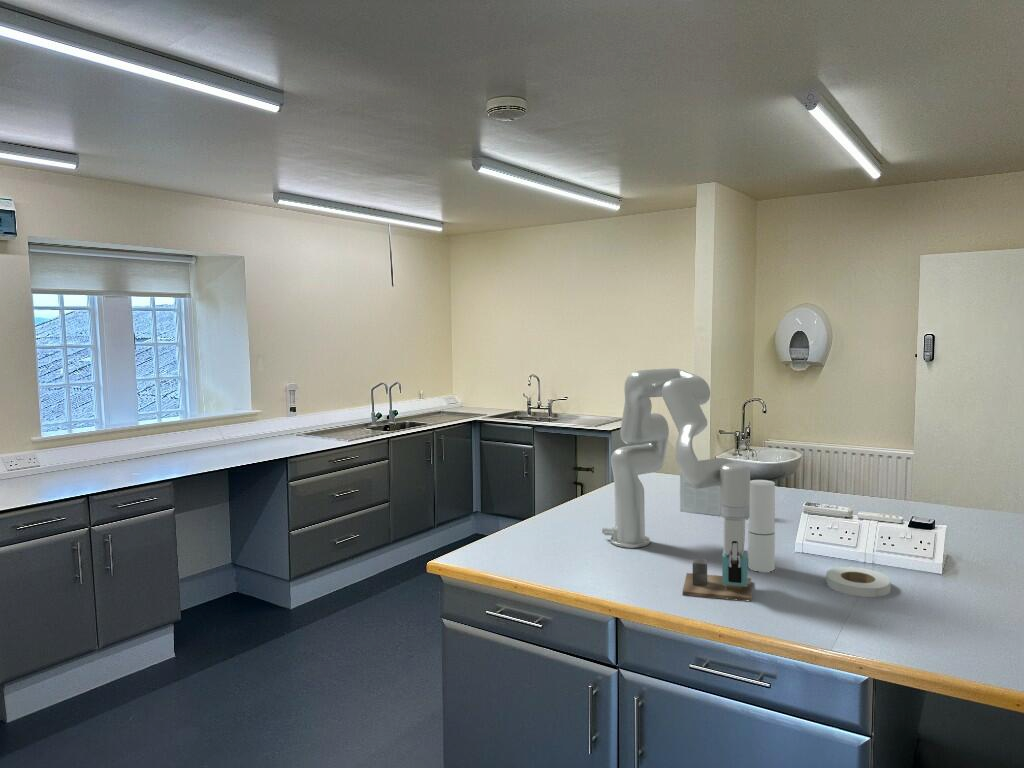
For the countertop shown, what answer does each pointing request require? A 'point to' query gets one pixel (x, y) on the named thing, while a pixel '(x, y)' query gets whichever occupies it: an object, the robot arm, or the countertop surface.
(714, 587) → the walnut board
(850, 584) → the roll of tape
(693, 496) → the skincare box
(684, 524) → the countertop surface
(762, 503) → the cylindrical container
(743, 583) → the aqua foam cube
